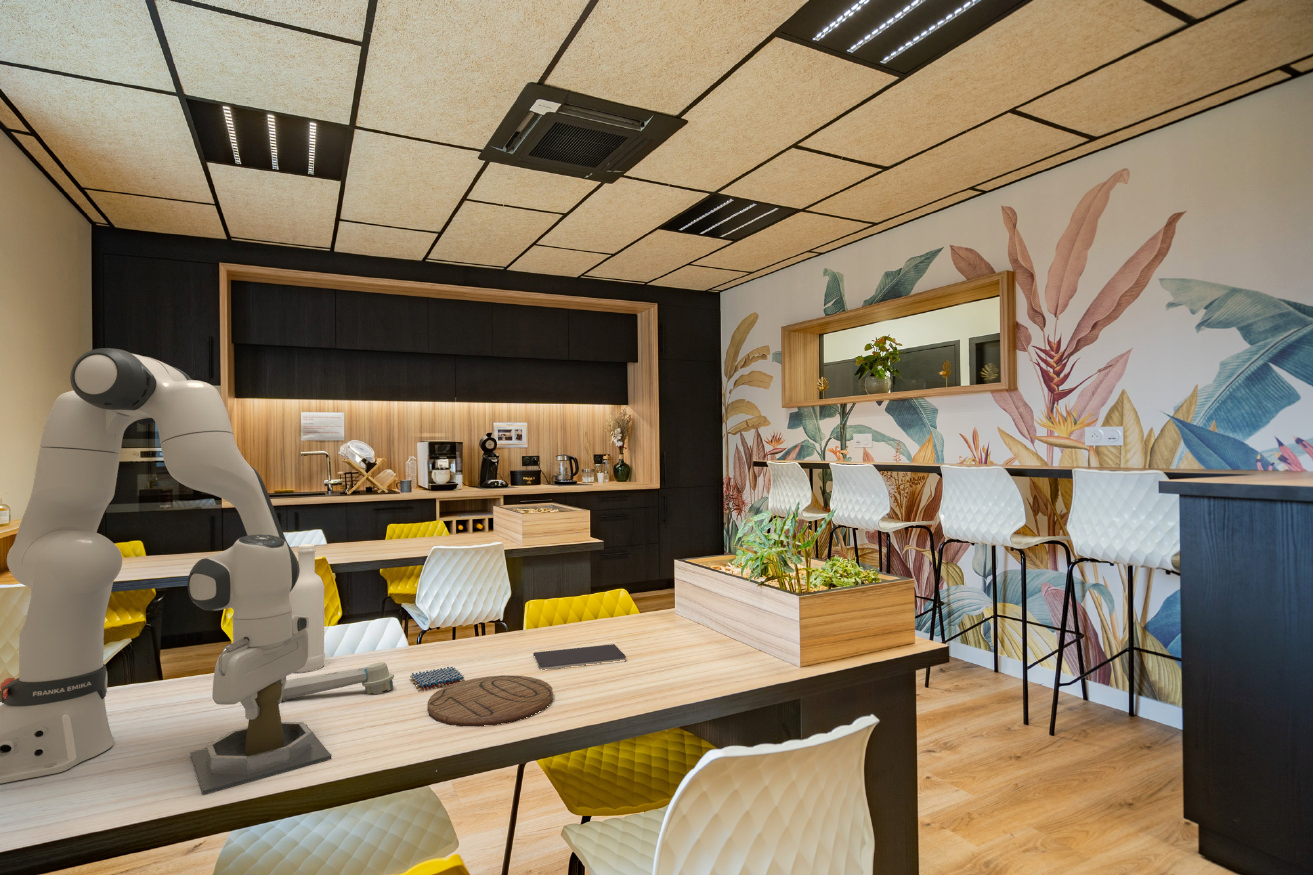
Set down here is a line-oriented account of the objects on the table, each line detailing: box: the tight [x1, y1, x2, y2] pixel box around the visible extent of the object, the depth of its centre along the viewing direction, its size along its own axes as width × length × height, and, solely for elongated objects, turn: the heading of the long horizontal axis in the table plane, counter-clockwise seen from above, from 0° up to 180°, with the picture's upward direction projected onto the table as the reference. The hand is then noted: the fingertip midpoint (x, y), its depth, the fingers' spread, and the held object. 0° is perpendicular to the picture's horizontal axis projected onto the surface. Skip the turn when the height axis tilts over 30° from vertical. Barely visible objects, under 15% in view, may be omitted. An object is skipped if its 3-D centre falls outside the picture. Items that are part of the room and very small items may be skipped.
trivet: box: [427, 674, 554, 727], centre depth 137 cm, size 25×25×2 cm
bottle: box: [289, 543, 326, 674], centre depth 164 cm, size 8×8×30 cm
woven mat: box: [409, 666, 466, 692], centre depth 151 cm, size 10×11×2 cm
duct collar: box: [189, 721, 332, 796], centre depth 113 cm, size 18×18×3 cm
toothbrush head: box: [282, 661, 395, 702], centre depth 143 cm, size 5×7×25 cm
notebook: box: [532, 643, 627, 670], centre depth 167 cm, size 13×2×21 cm
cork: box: [244, 682, 285, 756], centre depth 114 cm, size 6×6×11 cm
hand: (264, 711), depth 114 cm, fingers closed on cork, 4 cm apart
